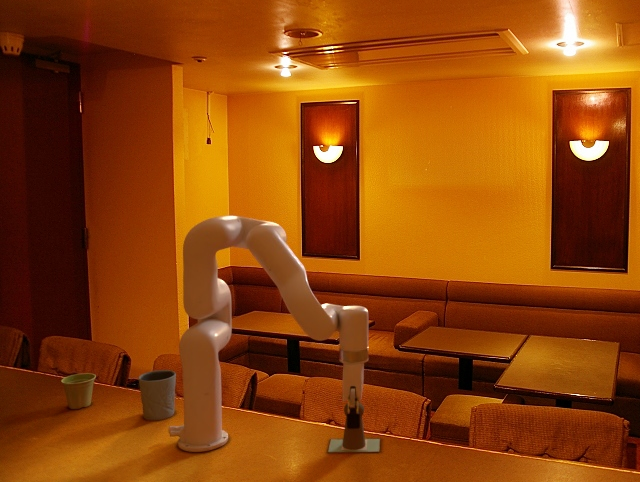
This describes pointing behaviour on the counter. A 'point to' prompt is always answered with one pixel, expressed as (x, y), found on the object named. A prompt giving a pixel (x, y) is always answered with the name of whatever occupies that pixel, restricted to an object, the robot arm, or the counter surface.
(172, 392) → the grey cup
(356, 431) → the brown tall tapered piece
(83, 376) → the plant pot
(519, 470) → the counter surface
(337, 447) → the placemat
